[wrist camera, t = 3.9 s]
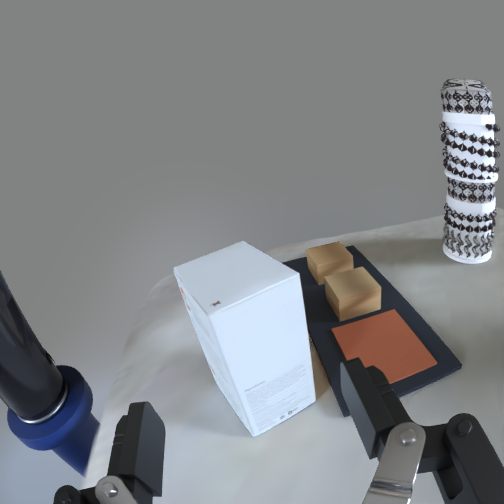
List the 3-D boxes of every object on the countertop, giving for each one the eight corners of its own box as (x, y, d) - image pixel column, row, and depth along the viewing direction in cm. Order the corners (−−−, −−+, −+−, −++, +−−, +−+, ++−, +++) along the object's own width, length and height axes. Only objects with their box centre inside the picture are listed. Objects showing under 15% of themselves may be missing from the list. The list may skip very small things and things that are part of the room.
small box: (318, 401, 24) (302, 272, 18) (253, 439, 22) (205, 317, 16) (270, 354, 31) (243, 237, 25) (215, 382, 28) (169, 267, 23)
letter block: (318, 285, 39) (316, 265, 38) (308, 268, 44) (305, 249, 43) (354, 276, 39) (353, 255, 38) (340, 259, 44) (339, 241, 43)
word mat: (344, 417, 22) (344, 413, 21) (280, 266, 47) (279, 262, 47) (461, 368, 22) (462, 363, 22) (353, 248, 47) (352, 244, 47)
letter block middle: (339, 321, 32) (338, 299, 31) (325, 297, 37) (323, 276, 35) (380, 309, 32) (381, 287, 31) (363, 287, 37) (362, 266, 35)
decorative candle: (480, 235, 41) (476, 82, 31) (502, 262, 33) (506, 82, 23) (433, 239, 44) (424, 80, 34) (451, 267, 36) (447, 76, 26)
